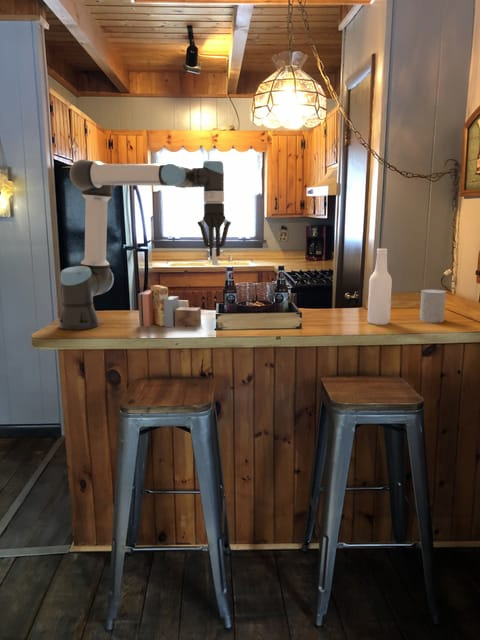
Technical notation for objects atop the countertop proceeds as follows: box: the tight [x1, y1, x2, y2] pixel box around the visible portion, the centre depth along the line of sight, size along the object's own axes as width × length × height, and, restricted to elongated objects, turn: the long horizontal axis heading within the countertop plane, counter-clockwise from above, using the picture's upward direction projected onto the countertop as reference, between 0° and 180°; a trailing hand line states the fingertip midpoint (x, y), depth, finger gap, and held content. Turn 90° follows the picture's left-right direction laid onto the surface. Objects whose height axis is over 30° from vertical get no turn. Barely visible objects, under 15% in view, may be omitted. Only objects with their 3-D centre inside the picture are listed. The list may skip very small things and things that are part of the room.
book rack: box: [137, 289, 189, 327], centre depth 208 cm, size 17×12×13 cm
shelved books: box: [142, 291, 180, 328], centre depth 208 cm, size 12×9×13 cm
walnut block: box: [174, 306, 202, 329], centre depth 206 cm, size 9×6×7 cm, turn 79°
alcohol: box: [366, 247, 393, 326], centre depth 206 cm, size 9×9×30 cm
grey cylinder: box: [418, 288, 447, 324], centre depth 213 cm, size 10×10×12 cm
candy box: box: [149, 284, 169, 327], centre depth 207 cm, size 9×4×15 cm, turn 33°
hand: (215, 264), depth 201 cm, fingers closed
